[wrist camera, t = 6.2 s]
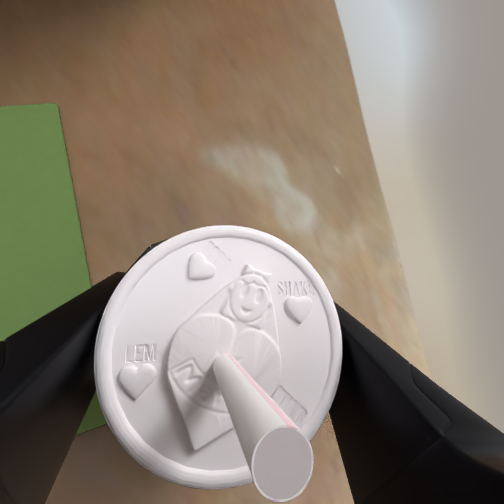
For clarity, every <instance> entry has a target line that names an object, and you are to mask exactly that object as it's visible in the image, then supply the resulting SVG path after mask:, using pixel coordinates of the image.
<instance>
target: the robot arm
mask: <svg viewBox="0 0 504 504" xmlns="http://www.w3.org/2000/svg"><path fill="white" fill-rule="evenodd" d="M126 274H127V273H124V272H116V273H114V274H113V275H111V276H109V277H108V278H106V279H104V280H103V281H101V282H99V283H98V284H96V285H94V286H92V287H91V288H89V289H87V290H86V291H84V292H82V293H81V294H79V295H77V296H76V297H74V298H72V299H71V300H69V301H67V302H66V303H64V304H62V305H61V306H59V307H57V308H56V309H54V310H52V311H51V312H49V313H47V314H45V315H44V316H42V317H40V318H39V319H37V320H35V321H34V322H32V323H30V324H29V325H27V326H25V327H24V328H22V329H20V330H19V331H17V332H15V333H14V334H12V335H10V336H9V337H7V338H6V339H5V341H0V504H45V502H46V500H47V497H48V495H49V493H50V491H51V488H52V486H53V484H54V482H55V480H56V477H57V475H58V473H59V471H60V469H61V466H62V464H63V462H64V460H65V458H66V455H67V453H68V451H69V449H70V447H71V444H72V442H73V440H74V438H75V436H76V433H77V431H78V429H79V427H80V425H81V422H82V420H83V418H84V416H85V414H86V411H87V409H88V407H89V405H90V403H91V400H92V398H93V396H94V394H95V391H96V384H95V375H94V353H95V345H96V338H97V333H98V329H99V325H100V322H101V319H102V316H103V314H104V311H105V308H106V306H107V304H108V302H109V300H110V298H111V296H112V294H113V293H114V291H115V289H116V288H117V286H118V284H119V283H120V282H121V280H122V279H123V278H124V276H125V275H126ZM333 302H334V301H333ZM334 305H335V308H336V311H337V314H338V318H339V322H340V328H341V334H342V365H341V373H340V378H339V383H338V387H337V391H336V394H335V397H334V400H333V402H332V405H331V407H330V409H329V414H330V417H331V421H332V424H333V428H334V432H335V435H336V439H337V442H338V446H339V450H340V453H341V457H342V460H343V464H344V468H345V471H346V475H347V478H348V482H349V486H350V489H351V493H352V496H353V500H354V504H504V433H502V432H501V431H499V430H498V429H497V428H495V427H494V426H493V425H491V424H490V423H489V422H487V421H486V420H484V419H483V418H482V417H480V416H479V415H477V414H476V413H475V412H473V411H472V410H471V409H469V408H468V407H466V406H465V405H464V404H463V403H461V402H460V401H458V400H457V399H456V398H454V397H453V396H452V395H450V394H449V393H448V392H446V391H445V390H444V389H442V388H441V387H439V386H438V385H437V384H436V383H434V382H433V381H432V380H431V379H429V378H428V377H427V376H426V375H424V374H423V373H422V372H421V371H419V370H418V369H417V368H416V367H414V366H413V365H412V364H409V362H408V361H407V360H406V359H404V358H403V357H402V356H401V355H400V354H398V353H397V352H396V351H395V350H393V349H392V348H391V347H390V346H388V345H387V344H386V343H385V342H383V341H382V340H381V339H380V338H379V337H377V336H376V335H375V334H374V333H372V332H371V331H370V330H369V329H367V328H366V327H365V326H364V325H362V324H361V323H360V322H359V321H358V320H356V319H355V318H354V317H353V316H351V315H350V314H349V313H348V312H346V311H345V310H344V309H343V308H341V307H340V306H339V305H338V304H337V303H335V302H334Z"/></svg>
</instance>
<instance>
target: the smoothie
mask: <svg viewBox="0 0 504 504" xmlns="http://www.w3.org/2000/svg"><path fill="white" fill-rule="evenodd" d="M341 365H342V334H341V328H340V322H339V318H338V314H337V311H336V308H335V305H334V302H333V299H332V297H331V295H330V293H329V291H328V289H327V287H326V285H325V283H324V282H323V280H322V278H321V277H320V275H319V274H318V273H317V271H316V270H315V269H314V267H313V266H312V265H311V264H310V263H309V262H308V261H307V260H306V259H305V258H304V257H303V256H302V255H301V254H300V253H299V252H298V251H296V250H295V249H294V248H292V247H291V246H290V245H288V244H287V243H285V242H283V241H282V240H280V239H278V238H276V237H274V236H272V235H270V234H267V233H265V232H262V231H259V230H255V229H252V228H247V227H241V226H231V225H218V226H208V227H203V228H198V229H194V230H190V231H187V232H184V233H182V234H179V235H177V236H174V237H172V238H170V239H168V240H166V241H164V242H163V243H161V244H160V245H158V246H157V247H155V248H153V249H152V250H151V251H150V252H148V253H147V254H146V255H144V256H143V257H142V258H141V259H140V260H139V261H138V262H137V263H136V264H135V265H134V266H133V267H132V268H131V269H130V270H129V271H128V273H127V274H126V275H125V276H124V278H123V279H122V280H121V282H120V283H119V284H118V286H117V288H116V289H115V291H114V293H113V294H112V296H111V298H110V300H109V302H108V304H107V306H106V308H105V311H104V314H103V316H102V319H101V322H100V325H99V329H98V333H97V338H96V345H95V353H94V375H95V384H96V390H97V395H98V399H99V403H100V406H101V409H102V412H103V414H104V417H105V419H106V422H107V423H108V425H109V427H110V429H111V431H112V433H113V434H114V436H115V437H116V439H117V440H118V442H119V443H120V444H121V446H122V447H123V448H124V449H125V450H126V451H127V453H128V454H129V455H130V456H131V457H132V458H133V459H134V460H136V461H137V462H138V463H139V464H140V465H141V466H143V467H144V468H146V469H147V470H149V471H150V472H152V473H153V474H155V475H157V476H159V477H161V478H163V479H165V480H167V481H170V482H172V483H175V484H178V485H181V486H186V487H190V488H197V489H207V490H209V489H226V488H234V487H238V486H242V485H246V484H249V483H252V482H254V483H255V485H256V487H257V489H258V490H259V491H260V493H261V494H262V495H263V496H265V497H266V498H267V499H269V500H272V501H275V502H286V501H289V500H291V499H293V498H295V497H296V496H298V495H299V494H300V493H301V492H302V491H303V490H304V488H305V487H306V486H307V484H308V482H309V480H310V478H311V474H312V471H313V464H314V457H313V451H312V447H311V444H310V440H311V439H312V438H313V437H314V435H315V434H316V432H317V431H318V429H319V428H320V426H321V425H322V423H323V421H324V419H325V418H326V416H327V414H328V412H329V409H330V407H331V405H332V402H333V400H334V397H335V394H336V391H337V387H338V383H339V378H340V373H341Z"/></svg>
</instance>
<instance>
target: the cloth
mask: <svg viewBox="0 0 504 504" xmlns="http://www.w3.org/2000/svg"><path fill="white" fill-rule="evenodd" d="M91 287H92V286H91V280H90V275H89V270H88V264H87V259H86V253H85V248H84V242H83V237H82V232H81V226H80V221H79V215H78V210H77V205H76V199H75V194H74V188H73V183H72V177H71V172H70V167H69V161H68V156H67V150H66V145H65V140H64V134H63V129H62V123H61V118H60V112H59V107H58V105H57V103H48V104H32V105H15V106H0V341H5V339H6V338H7V337H9V336H10V335H12V334H14V333H15V332H17V331H19V330H20V329H22V328H24V327H25V326H27V325H29V324H30V323H32V322H34V321H35V320H37V319H39V318H40V317H42V316H44V315H45V314H47V313H49V312H51V311H52V310H54V309H56V308H57V307H59V306H61V305H62V304H64V303H66V302H67V301H69V300H71V299H72V298H74V297H76V296H77V295H79V294H81V293H82V292H84V291H86V290H87V289H89V288H91ZM105 424H107V422H106V419H105V417H104V414H103V412H102V409H101V406H100V403H99V399H98V395H97V390H96V391H95V394H94V396H93V398H92V400H91V403H90V405H89V407H88V409H87V411H86V414H85V416H84V418H83V420H82V422H81V425H80V427H79V429H78V431H77V433H76V435H78V434H81V433H83V432H86V431H89V430H91V429H94V428H97V427H99V426H102V425H105Z"/></svg>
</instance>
